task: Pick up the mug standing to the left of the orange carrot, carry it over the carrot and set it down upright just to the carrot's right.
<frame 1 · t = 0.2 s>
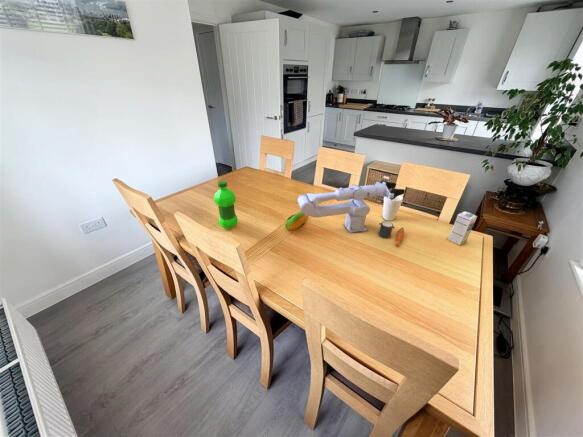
hand: (399, 188, 115), 21 cm above the table, tool horizontal, fingers open, 7 cm apart
mug: (384, 234, 118), on the table
foam cup: (388, 217, 132), on the table
hot dog: (297, 225, 126), on the table
syrup box: (456, 240, 114), on the table
carrot: (399, 238, 115), on the table
plastic bottle: (229, 226, 125), on the table
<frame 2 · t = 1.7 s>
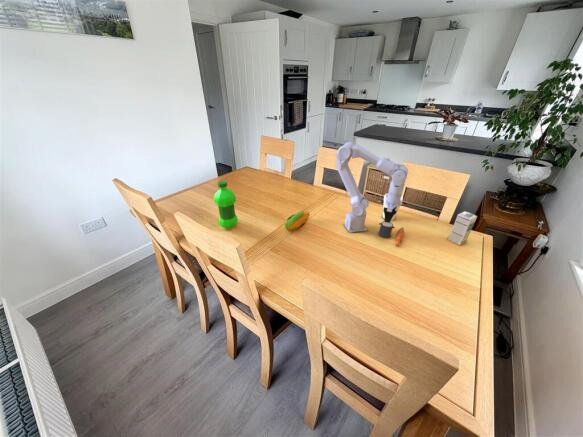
hand: (388, 218, 113), 10 cm above the table, tool pointing down, fingers open, 7 cm apart
nothing on the table moved.
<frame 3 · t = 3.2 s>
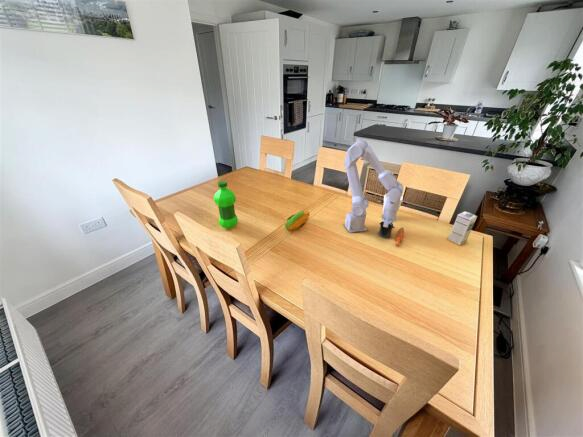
hand: (385, 232, 117), 2 cm above the table, tool pointing down, fingers closed on mug, 5 cm apart
mug: (384, 234, 118), on the table, touching gripper
everything else where it was.
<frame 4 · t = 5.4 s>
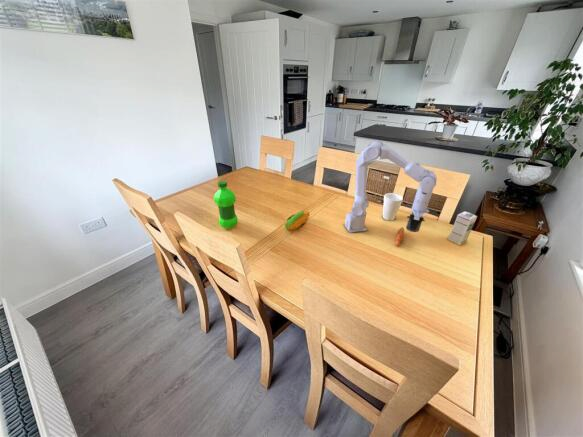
hand: (413, 226, 109), 9 cm above the table, tool pointing down, fingers closed on mug, 5 cm apart
mug: (412, 228, 109), point 7 cm above the table, touching gripper
everything else where it was.
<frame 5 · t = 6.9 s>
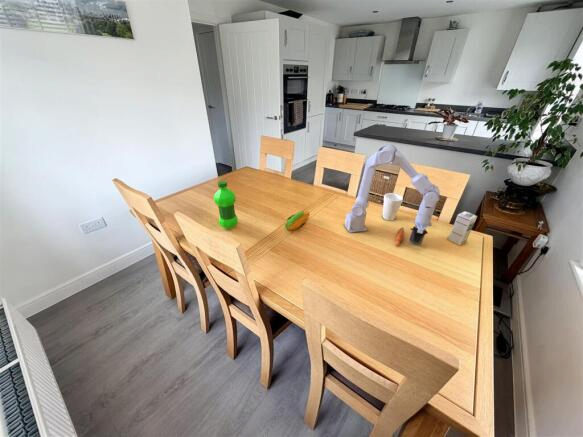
hand: (416, 238, 110), 3 cm above the table, tool pointing down, fingers closed on mug, 5 cm apart
mug: (415, 240, 111), point 2 cm above the table, touching gripper
everything else where it was.
when the fingers open (2 cm above the table, at t = 8.0 s): mug stays where it is, on the table.
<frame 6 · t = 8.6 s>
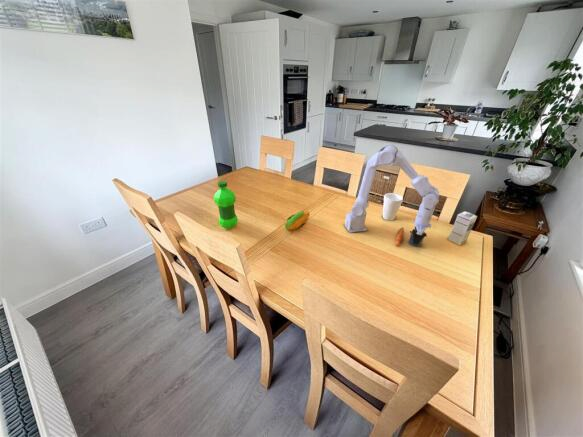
hand: (416, 239, 111), 2 cm above the table, tool pointing down, fingers open, 7 cm apart
mug: (414, 243, 112), on the table
everything else where it was.
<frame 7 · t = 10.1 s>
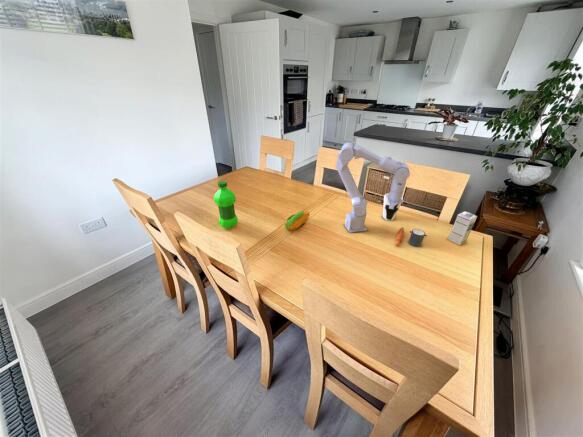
hand: (390, 215, 115), 10 cm above the table, tool pointing down, fingers open, 7 cm apart
nothing on the table moved.
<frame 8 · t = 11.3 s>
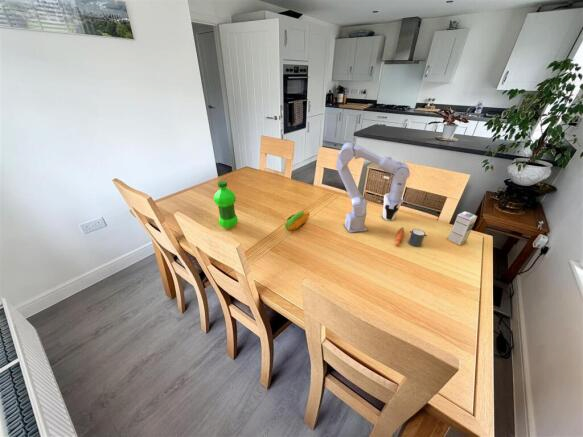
hand: (390, 215, 115), 10 cm above the table, tool pointing down, fingers open, 7 cm apart
nothing on the table moved.
at the end: mug 0.2 cm from the target spot on the table beside the carrot, on the table; mug tilted 0°; the gripper is holding nothing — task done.
